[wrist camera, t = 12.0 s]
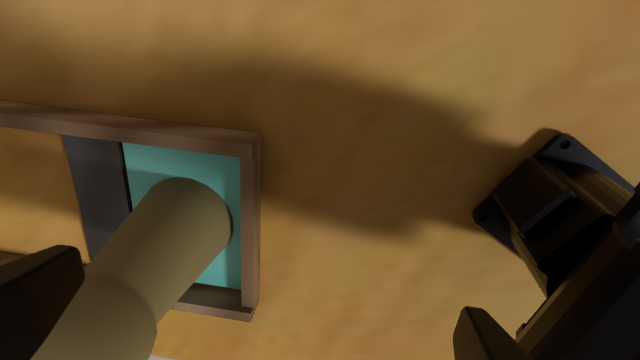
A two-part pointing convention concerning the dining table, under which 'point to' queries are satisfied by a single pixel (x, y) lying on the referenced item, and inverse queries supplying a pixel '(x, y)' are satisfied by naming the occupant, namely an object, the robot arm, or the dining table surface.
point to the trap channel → (114, 194)
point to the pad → (206, 168)
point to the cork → (142, 273)
